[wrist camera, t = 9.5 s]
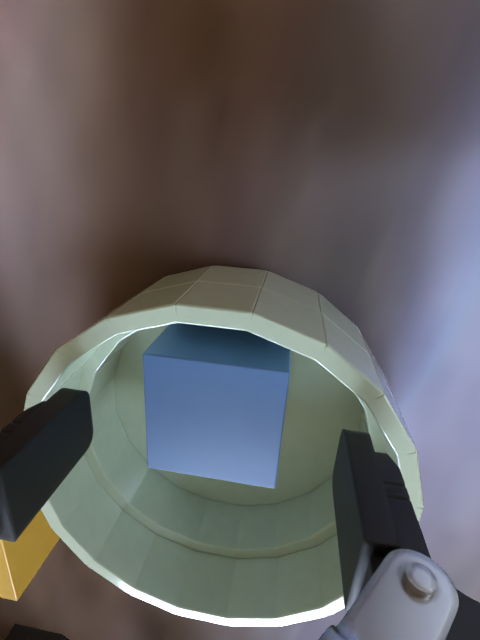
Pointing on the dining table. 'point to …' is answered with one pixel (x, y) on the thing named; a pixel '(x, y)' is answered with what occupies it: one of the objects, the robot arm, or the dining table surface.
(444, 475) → the dining table surface
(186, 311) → the bowl
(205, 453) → the blue cube
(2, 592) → the mustard cube
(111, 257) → the dining table surface
